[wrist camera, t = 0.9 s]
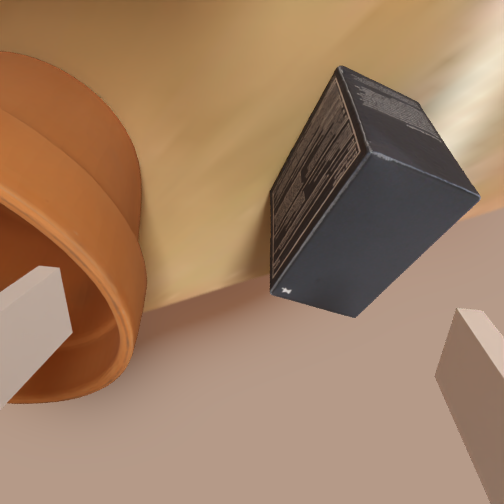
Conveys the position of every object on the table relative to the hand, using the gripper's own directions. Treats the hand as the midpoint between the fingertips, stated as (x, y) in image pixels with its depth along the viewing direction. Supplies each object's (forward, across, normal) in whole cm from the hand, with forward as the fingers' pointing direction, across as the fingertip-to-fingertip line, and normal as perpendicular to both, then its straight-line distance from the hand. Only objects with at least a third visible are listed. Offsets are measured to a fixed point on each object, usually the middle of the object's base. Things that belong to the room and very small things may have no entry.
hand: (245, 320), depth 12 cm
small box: (+18, +4, +3) cm, 18 cm away
